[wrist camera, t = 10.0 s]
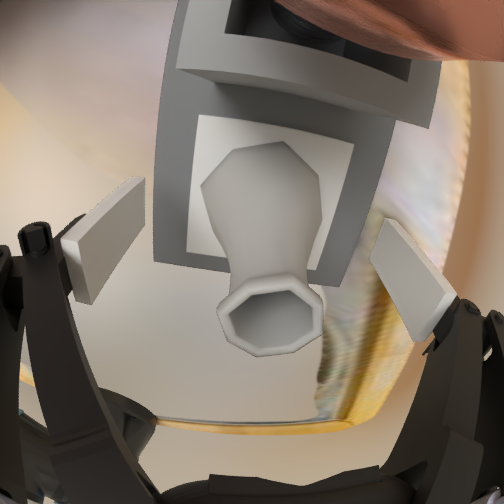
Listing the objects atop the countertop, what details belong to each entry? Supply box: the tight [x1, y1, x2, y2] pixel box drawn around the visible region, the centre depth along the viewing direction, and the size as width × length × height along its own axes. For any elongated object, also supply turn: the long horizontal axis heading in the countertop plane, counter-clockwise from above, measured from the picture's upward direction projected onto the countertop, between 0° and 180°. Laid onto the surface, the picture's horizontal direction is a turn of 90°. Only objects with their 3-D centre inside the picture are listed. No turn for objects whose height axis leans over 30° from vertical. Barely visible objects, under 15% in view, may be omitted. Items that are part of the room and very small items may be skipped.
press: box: [153, 0, 442, 287], centre depth 12 cm, size 22×14×10 cm, turn 170°
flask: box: [200, 141, 324, 357], centre depth 12 cm, size 7×7×10 cm
